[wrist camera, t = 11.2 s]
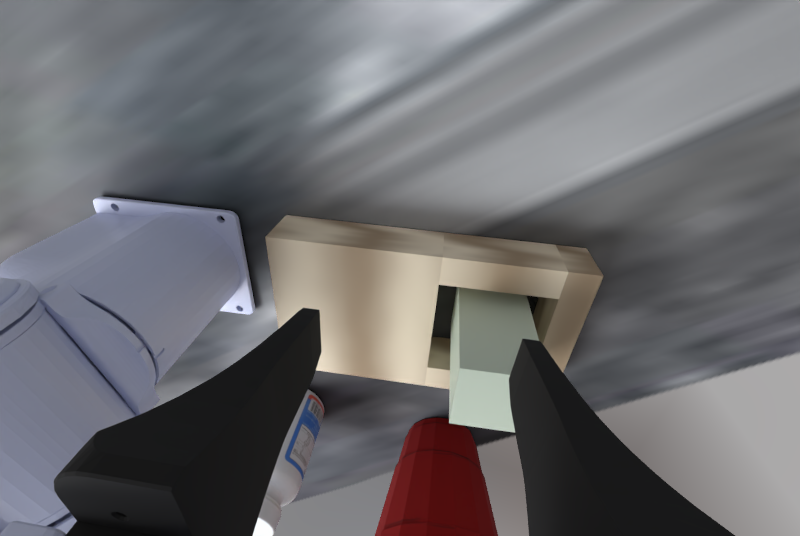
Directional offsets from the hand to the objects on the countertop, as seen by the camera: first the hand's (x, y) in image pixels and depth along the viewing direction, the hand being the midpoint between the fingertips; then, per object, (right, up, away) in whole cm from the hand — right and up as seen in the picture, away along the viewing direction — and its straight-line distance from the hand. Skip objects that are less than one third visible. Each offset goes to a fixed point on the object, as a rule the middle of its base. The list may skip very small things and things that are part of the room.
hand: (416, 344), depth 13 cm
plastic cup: (+3, -12, +20) cm, 23 cm away
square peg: (+5, 0, +11) cm, 12 cm away
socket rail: (+1, +1, +12) cm, 12 cm away
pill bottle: (-10, -9, +20) cm, 24 cm away
